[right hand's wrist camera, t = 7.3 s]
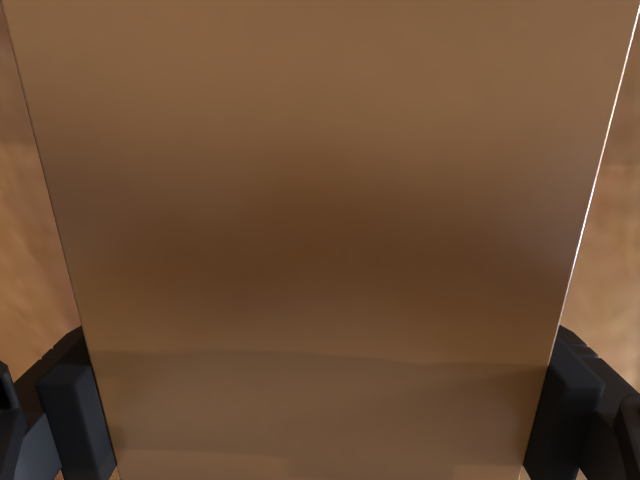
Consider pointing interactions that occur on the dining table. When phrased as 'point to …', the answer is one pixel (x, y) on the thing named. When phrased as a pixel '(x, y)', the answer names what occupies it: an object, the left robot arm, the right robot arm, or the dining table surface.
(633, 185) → the dining table surface
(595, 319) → the dining table surface
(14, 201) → the dining table surface
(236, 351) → the wooden beam
